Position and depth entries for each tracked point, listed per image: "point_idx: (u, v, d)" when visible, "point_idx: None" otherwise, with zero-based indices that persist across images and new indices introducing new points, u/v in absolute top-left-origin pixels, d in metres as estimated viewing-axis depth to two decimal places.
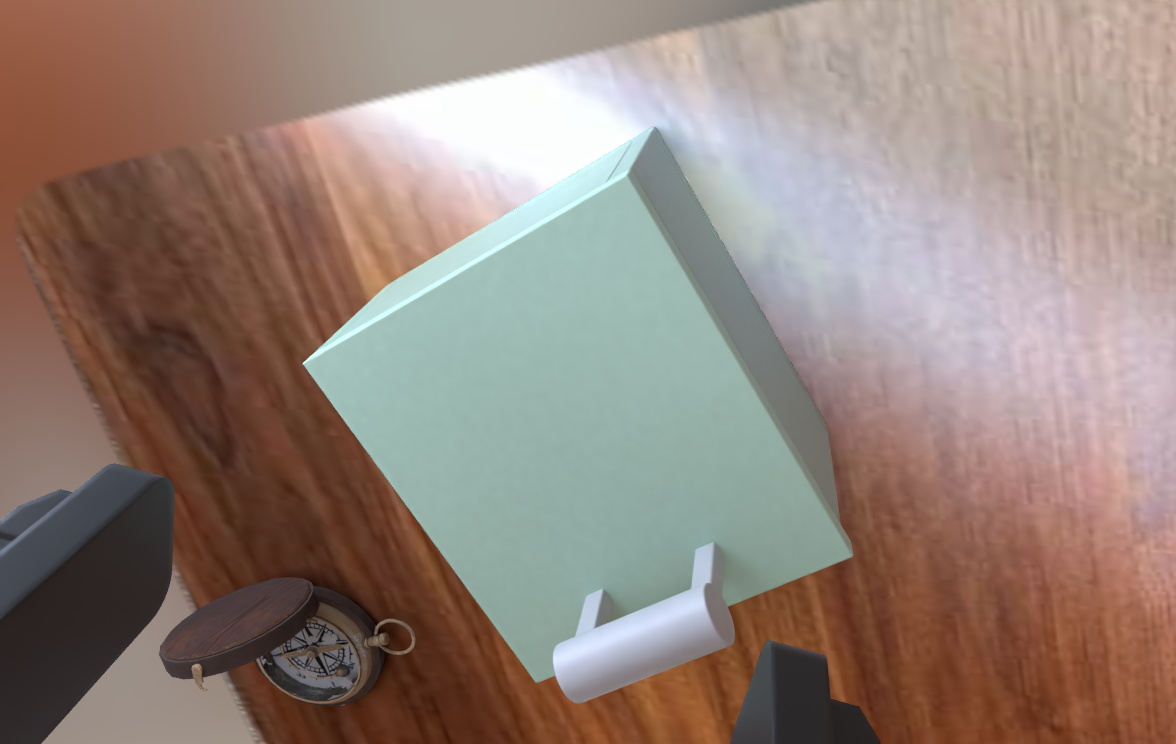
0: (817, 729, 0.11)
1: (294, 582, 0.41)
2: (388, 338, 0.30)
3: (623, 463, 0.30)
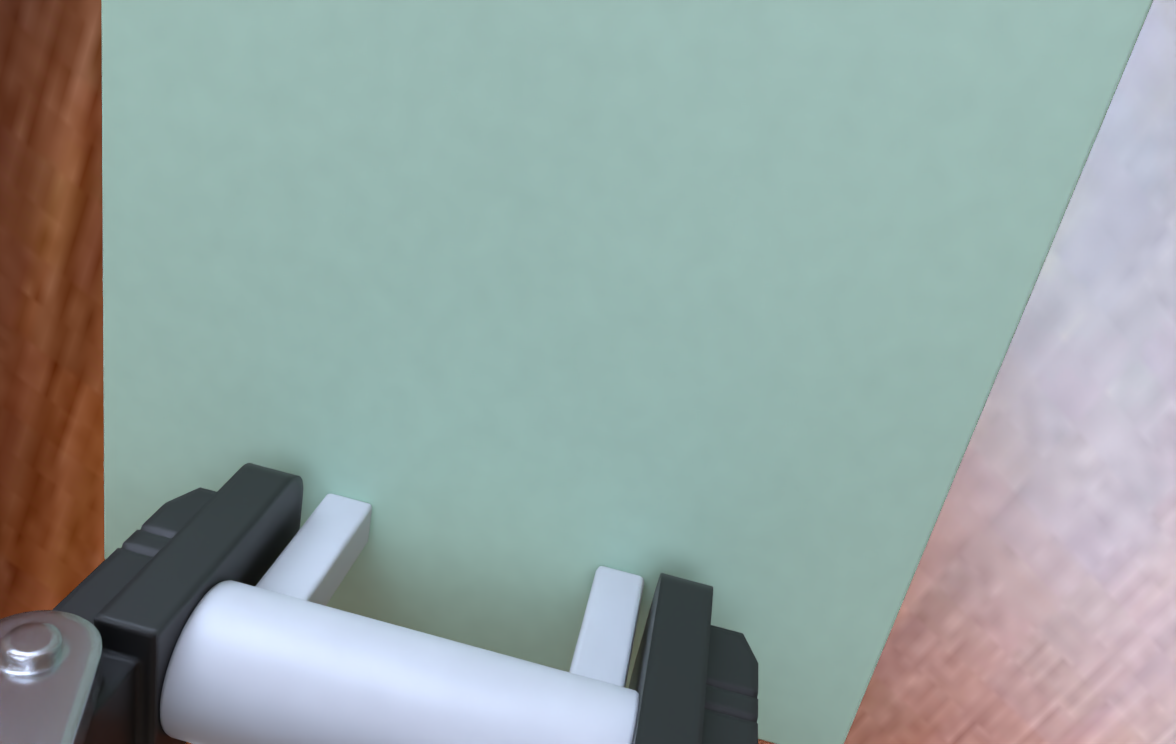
0: (693, 648, 0.12)
1: None
2: None
3: (621, 327, 0.13)
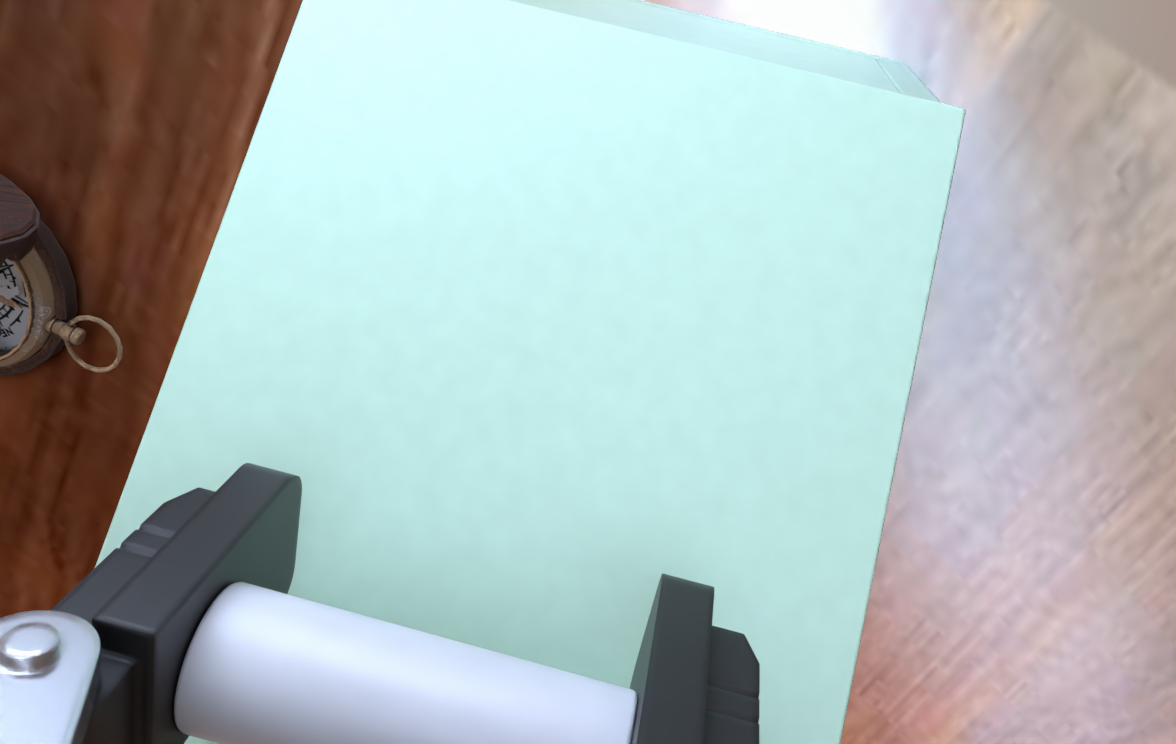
0: (694, 649, 0.12)
1: (17, 195, 0.27)
2: (467, 23, 0.17)
3: (596, 457, 0.16)
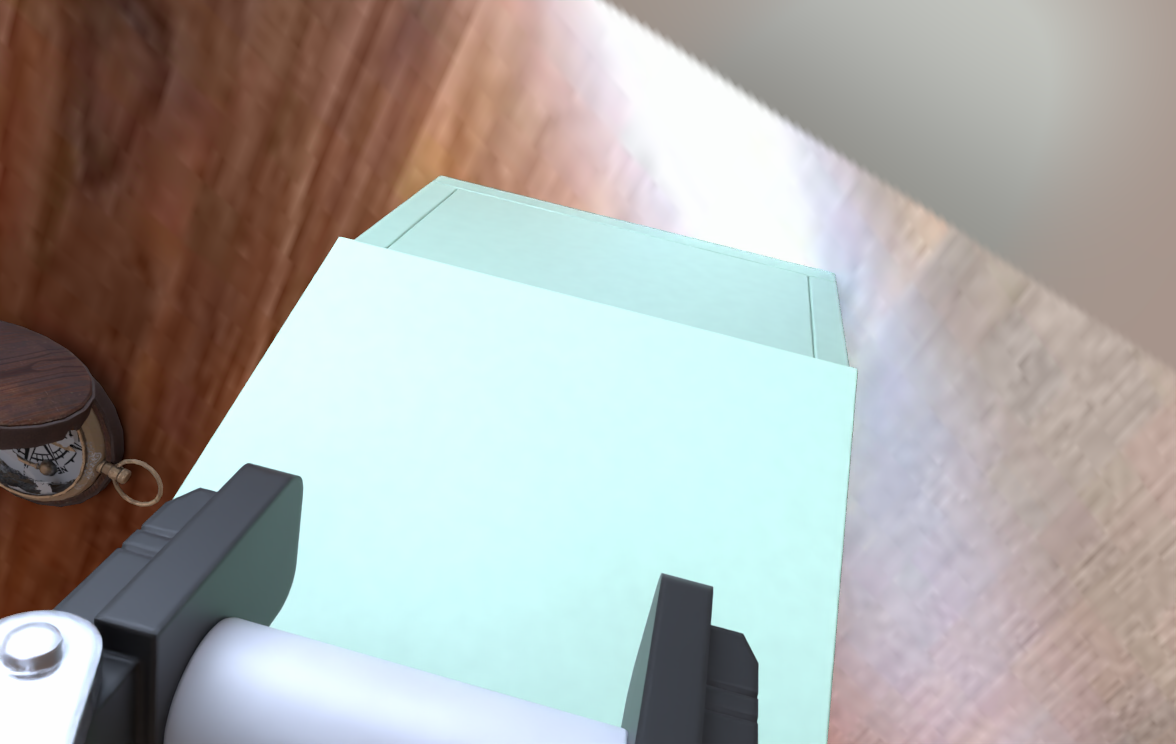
0: (694, 648, 0.12)
1: (75, 367, 0.31)
2: (456, 287, 0.21)
3: (561, 617, 0.17)
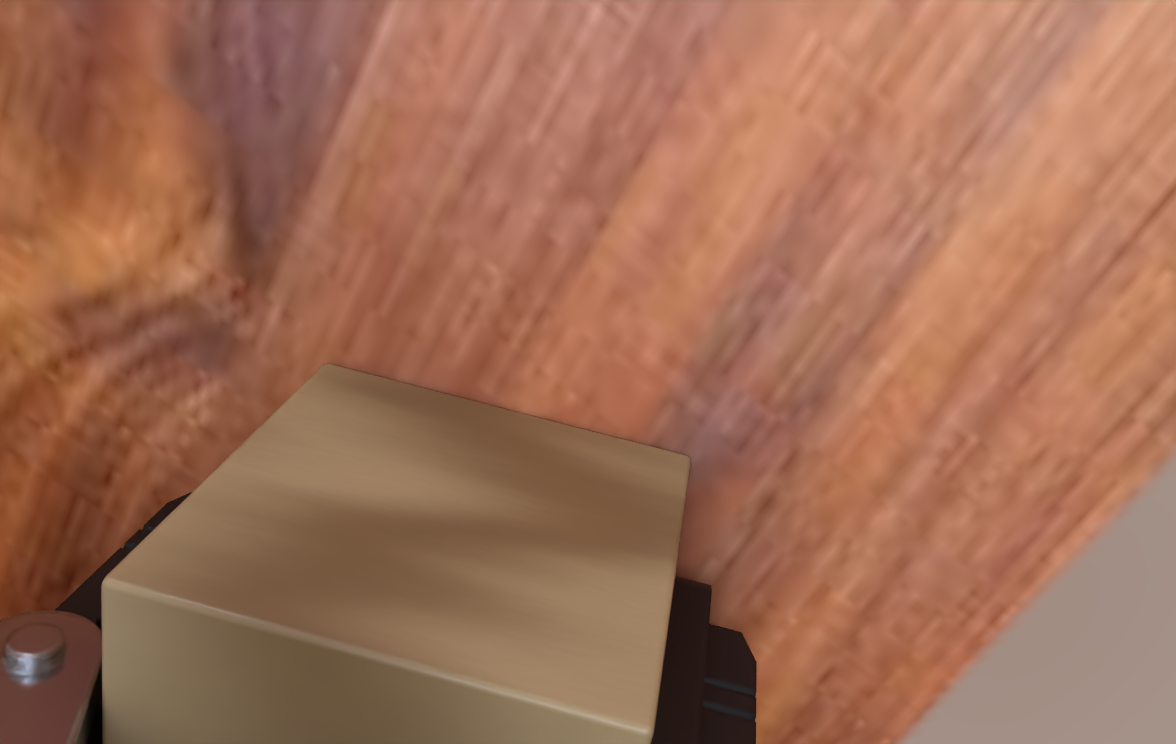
0: (691, 647, 0.12)
1: None
2: None
3: None
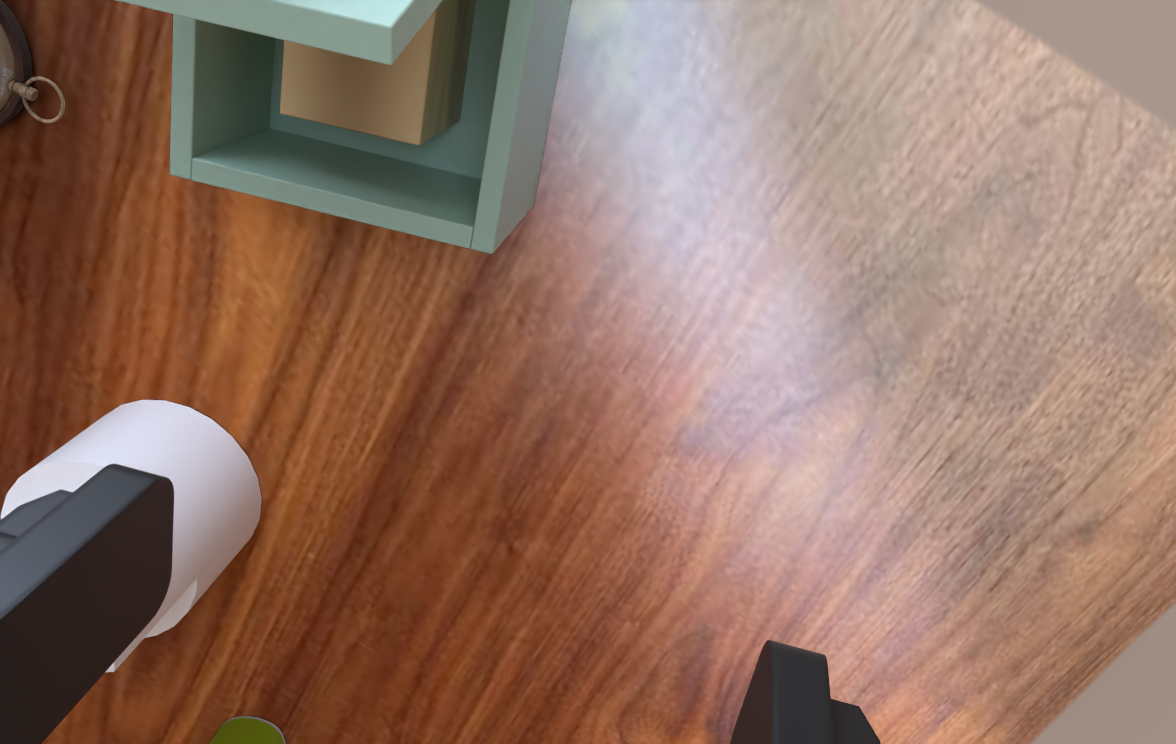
0: (817, 729, 0.11)
1: None
2: None
3: None
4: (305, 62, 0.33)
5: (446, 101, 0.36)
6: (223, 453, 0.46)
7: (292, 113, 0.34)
